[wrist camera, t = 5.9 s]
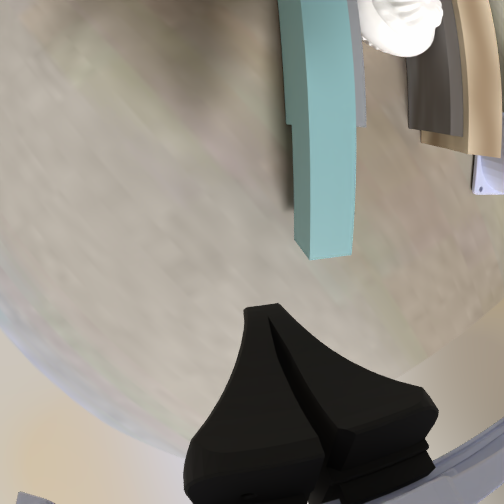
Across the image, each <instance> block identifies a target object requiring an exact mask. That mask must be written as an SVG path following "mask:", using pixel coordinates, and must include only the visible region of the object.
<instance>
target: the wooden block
mask: <svg viewBox="0 0 504 504" xmlns="http://www.w3.org/2000/svg"><path fill="white" fill-rule="evenodd" d="M440 1H441V3H442V7H441V8H442V10H443V17H442V21H441V24H440V25H439V26H438V27H436V28H435V35H434V39H433V42H432V44H431V45H430V47H429V48H428V49H427V50H426V51H424V52H423V53H421V54H419V55H416V56H413V57H406V64H407V78H408V103H409V128H410V129H417V130H421V143H425V144H429V145H434V146H438V147H442V148H447V149H451V150H455V151H459V152H462V153H466V154H473V155H481V156H488V157H495V158H501V143H502V91H501V76H500V64H499V55H498V48H497V41H496V34H495V28H494V23H493V18H492V13H491V8H490V4H489V0H440Z"/></svg>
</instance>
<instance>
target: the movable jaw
mask: <svg viewBox="0 0 504 504" xmlns="http://www.w3.org/2000/svg"><path fill="white" fill-rule="evenodd" d="M278 8H279V20H280V32H281V45H282V59H283V75H284V92H285V110H286V124H290V125H292V145H293V179H294V240H295V241H296V242H297V244H298V245H299V246H300V248H301V249H302V251H303V252H304V253H305V255H306V256H307V257H308V259H309V260H316V259H324V258H331V257H339V256H346V255H351V254H352V241H353V227H354V210H355V186H356V127H366V95H365V75H364V60H363V48H362V37H361V28H360V19H359V11H358V4H357V0H278Z"/></svg>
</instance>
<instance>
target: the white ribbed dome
mask: <svg viewBox="0 0 504 504" xmlns="http://www.w3.org/2000/svg"><path fill="white" fill-rule="evenodd" d="M357 4H358V11H359V19H360V28H361V37H362V41H363V42H365V43H366V44H368V45H370V46H371V47H373V48H375V49H376V50H380V51H382V52H384V53H389V54H392V55H395V56H400V57H413V56H416V55H419V54H421V53H423V52H424V51H426V50H427V49H428V48H429V47H430V45H431V44H432V42H433V39H434V35H435V28H436V27H438V26H439V25H440V24H441V21H442V17H443V10H442V8H441V7H442V3H441V1H440V0H357Z"/></svg>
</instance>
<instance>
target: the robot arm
mask: <svg viewBox="0 0 504 504" xmlns="http://www.w3.org/2000/svg"><path fill="white" fill-rule="evenodd" d="M472 192H473V193H474V194H504V112H502V143H501V158H495V157H488V156H481V155H475V161H474V173H473V183H472ZM243 311H244V331H243V337H242V342H241V346H240V350H239V353H238V357H237V360H236V363H235V366H234V369H233V372H232V374H231V376H230V379H229V381H228V383H227V385H226V387H225V390H224V392H223V394H222V395H221V397H220V399H219V401H218V403H217V404H216V406H215V407H214V409H213V411H212V412H211V414H210V415H209V417H208V418H207V420H206V421H205V423H204V424H203V425H202V427H201V428H200V429H199V430H198V432H197V433H196V434H195V436H194V437H193V438H192V439H191V442H190V445H189V448H188V451H187V455H186V459H185V464H184V472H183V479H184V490H185V493H186V495H187V496H188V498H189V499H190V500H191V501H192V503H193V504H307V502H308V503H309V504H477V503H478V502H480V501H481V500H482V499H483V498H485V497H486V496H488V495H489V494H490V493H491V492H493V491H494V490H495V489H497V488H498V487H499V486H500V485H502V484H503V483H504V417H503V418H502V419H500V420H499V421H497V422H496V423H494V424H493V425H492V426H490V427H489V428H487V429H486V430H484V431H483V432H481V433H480V434H478V435H477V436H475V437H473V438H472V439H471V440H469V441H467V442H465V443H464V444H462V445H460V446H459V447H457V448H455V449H454V450H452V451H450V452H448V453H446V454H445V455H443V456H441V457H439V458H437V459H435V460H433V461H432V460H431V458H430V457H429V455H428V453H427V451H426V450H427V449H428V448H429V445H428V443H427V441H426V440H425V437H426V436H427V434H428V433H429V431H430V430H431V428H432V427H433V425H434V424H435V422H436V420H437V417H438V413H439V412H438V411H439V410H438V408H437V407H436V405H435V404H434V402H433V401H432V399H431V398H430V396H429V395H428V394H427V393H426V391H425V390H424V389H423V388H422V387H419V386H414V385H411V384H407V383H403V382H399V381H396V380H393V379H390V378H387V377H385V376H382V375H379V374H377V373H374V372H372V371H369V370H367V369H365V368H363V367H361V366H359V365H357V364H355V363H353V362H351V361H349V360H347V359H346V358H344V357H342V356H341V355H339V354H338V353H336V352H334V351H333V350H331V349H330V348H328V347H327V346H326V345H324V344H323V343H322V342H320V341H319V340H318V339H317V338H315V337H314V336H313V335H312V334H311V333H309V332H308V331H307V330H306V329H305V328H304V327H302V326H301V325H300V324H299V323H298V322H297V321H296V320H295V319H294V318H293V317H292V316H291V315H290V314H289V313H288V312H287V311H286V310H285V309H284V308H283V307H282V306H281V305H280V304H279V303H276V304H269V305H262V306H254V307H247V308H245V309H244V310H243ZM16 504H55V503H53V502H51V501H49V500H47V499H44V498H41V497H37V496H34V495H30V494H27V493H24V492H18V497H17V502H16Z"/></svg>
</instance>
